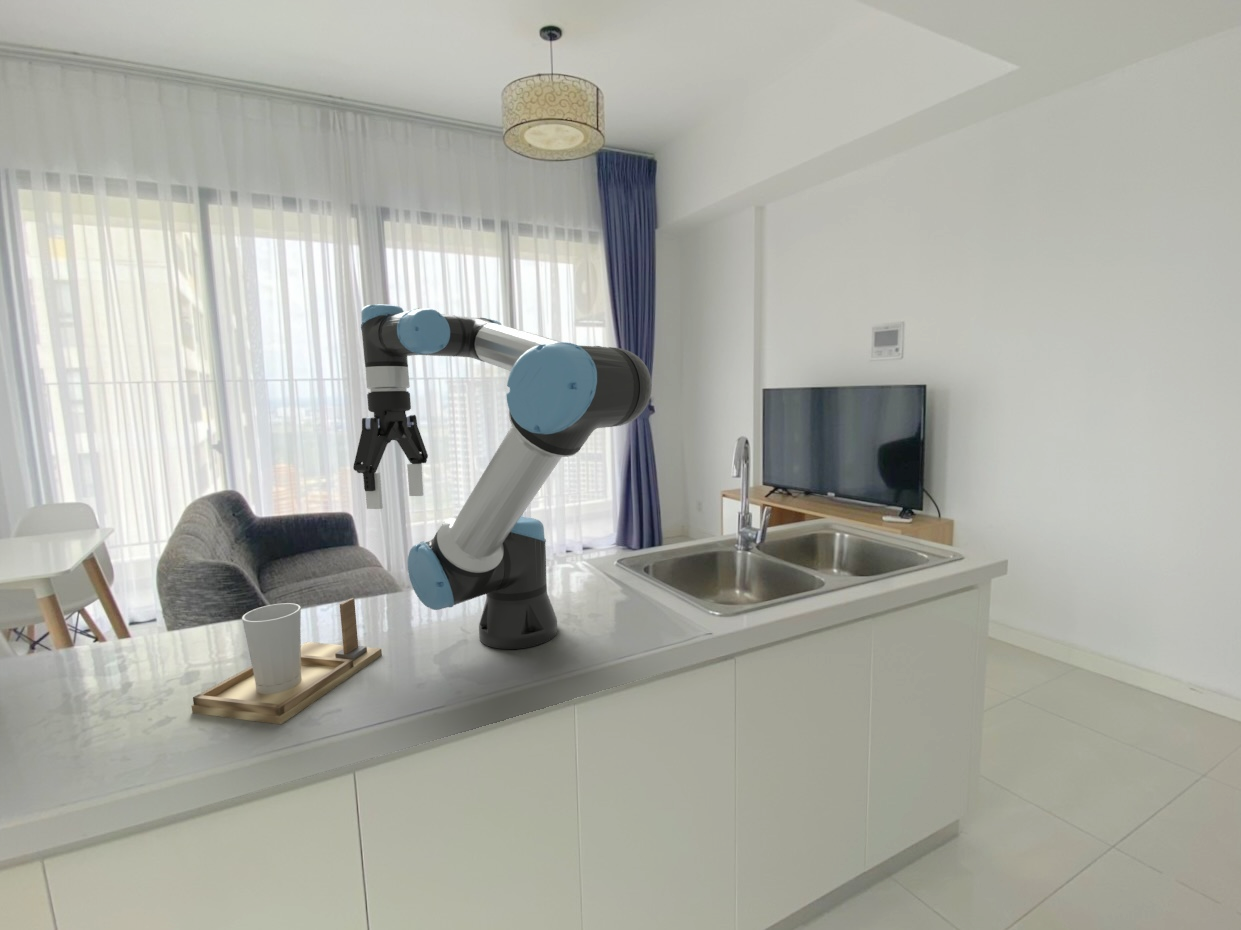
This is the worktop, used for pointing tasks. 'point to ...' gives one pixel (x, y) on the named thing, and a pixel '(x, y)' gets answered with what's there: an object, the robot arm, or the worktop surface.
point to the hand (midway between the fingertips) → (396, 501)
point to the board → (318, 675)
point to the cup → (274, 646)
